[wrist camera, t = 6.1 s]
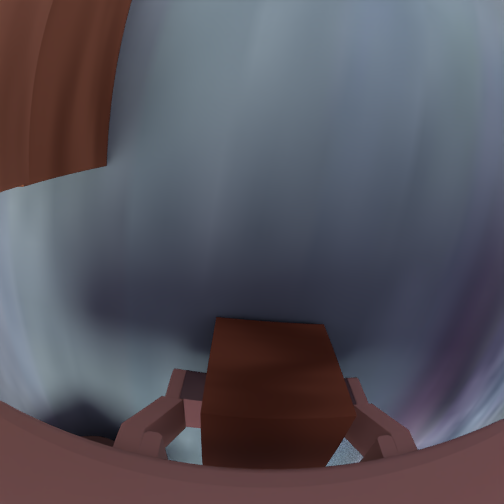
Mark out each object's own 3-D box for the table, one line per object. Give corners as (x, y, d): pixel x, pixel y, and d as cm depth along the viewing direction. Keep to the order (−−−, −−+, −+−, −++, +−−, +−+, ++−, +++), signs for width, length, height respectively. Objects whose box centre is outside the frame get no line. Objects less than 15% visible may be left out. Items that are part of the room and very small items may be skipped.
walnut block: (323, 324, 12) (357, 415, 7) (302, 394, 13) (317, 477, 9) (216, 317, 12) (200, 413, 7) (213, 390, 13) (203, 476, 8)
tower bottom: (137, -14, 7) (86, -73, 2) (108, 165, 10) (23, 186, 5) (8, 28, 7) (-54, 13, 2) (-12, 171, 10) (-83, 193, 5)
